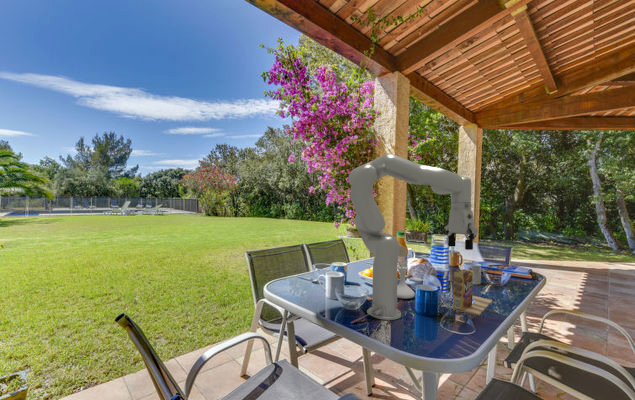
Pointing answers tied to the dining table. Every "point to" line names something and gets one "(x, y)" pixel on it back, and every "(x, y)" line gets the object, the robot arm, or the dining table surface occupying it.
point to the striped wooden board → (475, 306)
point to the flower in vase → (403, 278)
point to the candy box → (463, 289)
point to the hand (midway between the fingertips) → (460, 247)
